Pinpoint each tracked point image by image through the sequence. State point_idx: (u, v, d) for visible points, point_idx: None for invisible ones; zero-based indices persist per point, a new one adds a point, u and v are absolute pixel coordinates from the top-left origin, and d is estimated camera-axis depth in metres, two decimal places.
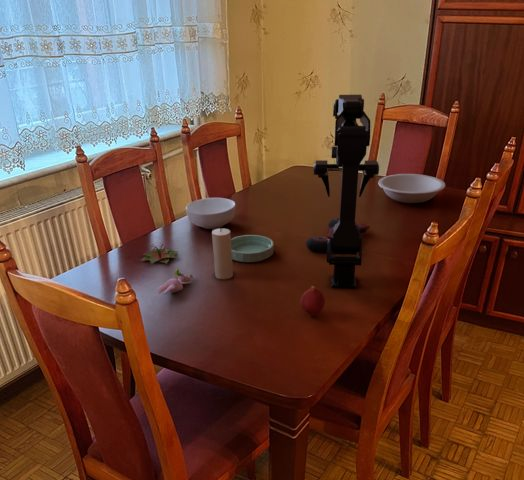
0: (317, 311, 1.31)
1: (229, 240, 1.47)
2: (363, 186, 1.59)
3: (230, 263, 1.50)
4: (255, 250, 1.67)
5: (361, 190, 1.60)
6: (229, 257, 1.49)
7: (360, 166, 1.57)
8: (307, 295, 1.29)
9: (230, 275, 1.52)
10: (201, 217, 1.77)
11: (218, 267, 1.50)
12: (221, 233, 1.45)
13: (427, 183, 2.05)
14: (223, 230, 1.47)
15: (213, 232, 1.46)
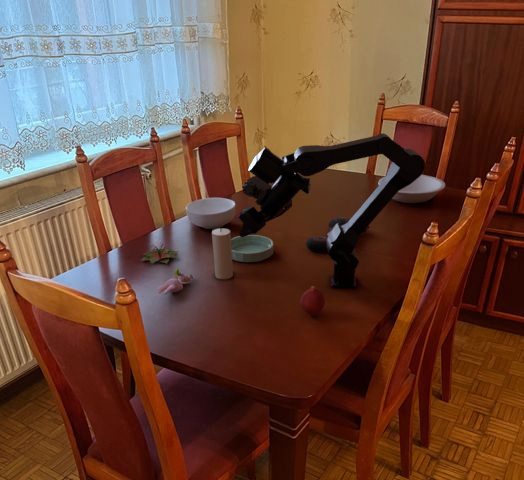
0: (317, 311, 1.31)
1: (229, 240, 1.47)
2: (271, 219, 1.47)
3: (230, 263, 1.50)
4: (255, 250, 1.67)
5: (266, 221, 1.48)
6: (229, 257, 1.49)
7: None
8: (307, 295, 1.29)
9: (230, 275, 1.52)
10: (201, 217, 1.77)
11: (218, 267, 1.50)
12: (221, 233, 1.45)
13: (427, 183, 2.05)
14: (223, 230, 1.47)
15: (213, 232, 1.46)
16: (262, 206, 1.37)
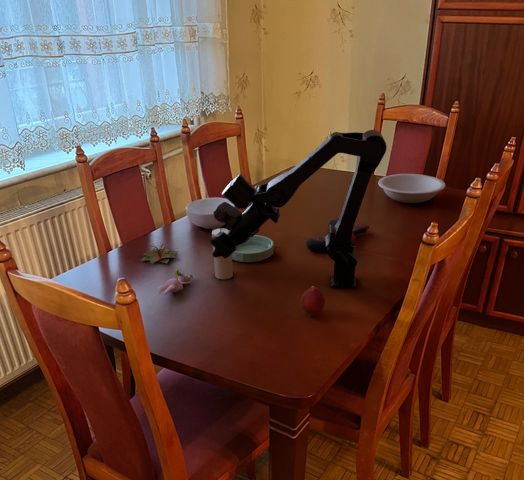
0: (317, 311, 1.31)
1: None
2: (236, 245, 1.51)
3: (230, 263, 1.50)
4: (255, 250, 1.67)
5: None
6: (229, 257, 1.49)
7: None
8: (307, 295, 1.29)
9: (230, 275, 1.52)
10: (201, 217, 1.77)
11: (218, 267, 1.50)
12: None
13: (427, 183, 2.05)
14: (223, 230, 1.47)
15: (213, 232, 1.46)
16: (232, 231, 1.42)
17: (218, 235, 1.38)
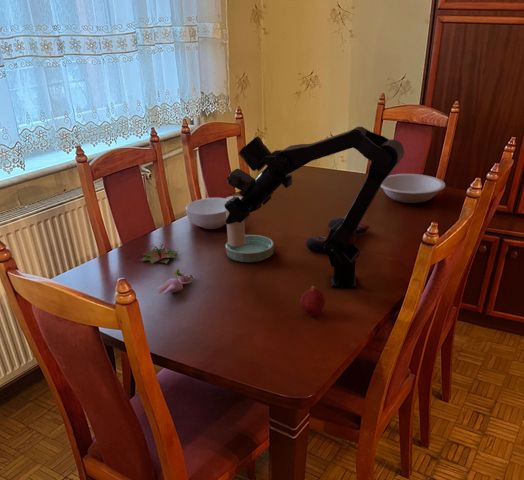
0: (317, 311, 1.31)
1: None
2: None
3: (243, 230, 1.53)
4: (255, 250, 1.67)
5: None
6: (242, 224, 1.51)
7: None
8: (307, 295, 1.29)
9: (243, 242, 1.54)
10: (201, 217, 1.77)
11: (231, 234, 1.52)
12: None
13: (427, 183, 2.05)
14: None
15: (226, 199, 1.49)
16: (246, 197, 1.44)
17: (232, 200, 1.40)
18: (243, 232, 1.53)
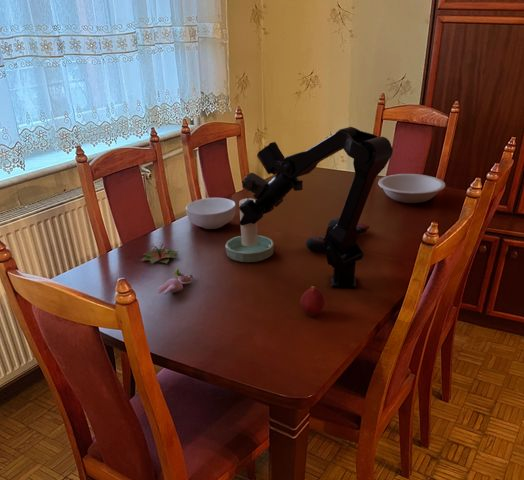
0: (317, 311, 1.31)
1: None
2: None
3: (256, 231, 1.60)
4: (255, 250, 1.67)
5: None
6: (255, 225, 1.59)
7: None
8: (307, 295, 1.29)
9: (256, 243, 1.62)
10: (201, 217, 1.77)
11: (244, 235, 1.60)
12: None
13: (427, 183, 2.05)
14: (250, 199, 1.58)
15: (240, 201, 1.56)
16: (259, 200, 1.52)
17: (247, 202, 1.48)
18: (256, 233, 1.61)
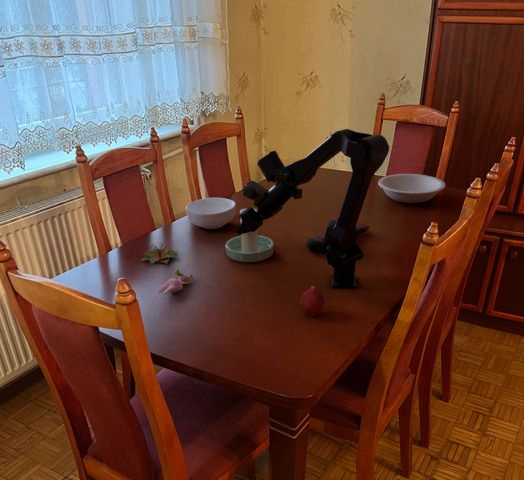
0: (317, 311, 1.31)
1: None
2: (263, 219, 1.64)
3: (256, 240, 1.62)
4: None
5: None
6: (255, 234, 1.61)
7: None
8: (307, 295, 1.29)
9: None
10: (201, 217, 1.77)
11: (245, 244, 1.62)
12: None
13: (427, 183, 2.05)
14: None
15: (241, 211, 1.58)
16: (259, 207, 1.53)
17: (247, 210, 1.49)
18: (256, 242, 1.63)
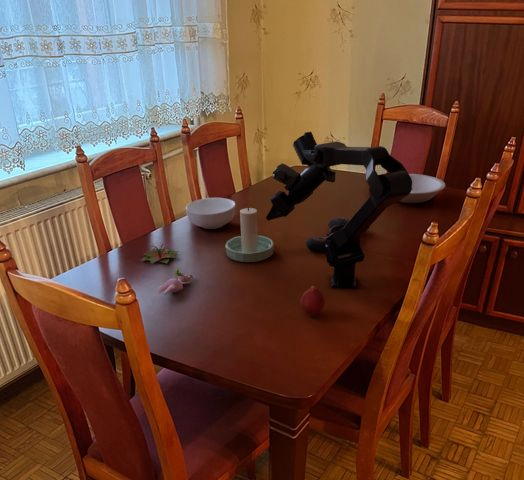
0: (317, 311, 1.31)
1: (256, 218, 1.58)
2: None
3: (256, 240, 1.62)
4: None
5: None
6: (255, 234, 1.61)
7: None
8: (307, 295, 1.29)
9: None
10: (201, 217, 1.77)
11: (245, 244, 1.62)
12: (249, 212, 1.57)
13: (427, 183, 2.05)
14: (250, 209, 1.59)
15: (241, 211, 1.58)
16: (290, 191, 1.47)
17: (278, 194, 1.43)
18: (256, 242, 1.63)
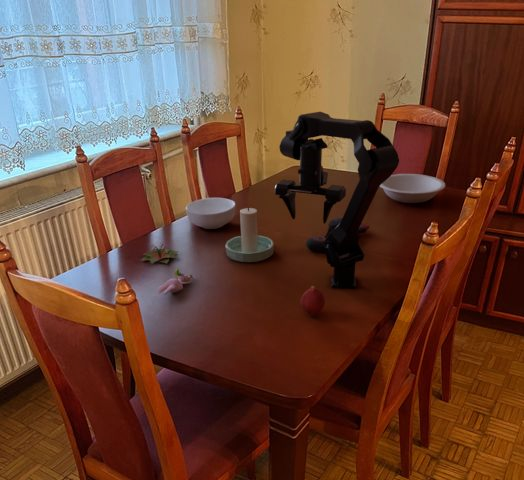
0: (317, 311, 1.31)
1: (256, 218, 1.58)
2: (325, 212, 1.46)
3: (256, 240, 1.62)
4: None
5: (324, 216, 1.48)
6: (255, 234, 1.61)
7: (323, 190, 1.45)
8: (307, 295, 1.29)
9: None
10: (201, 217, 1.77)
11: (245, 244, 1.62)
12: (249, 212, 1.57)
13: (427, 183, 2.05)
14: (250, 209, 1.59)
15: (241, 211, 1.58)
16: None
17: None
18: (256, 242, 1.63)
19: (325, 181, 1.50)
